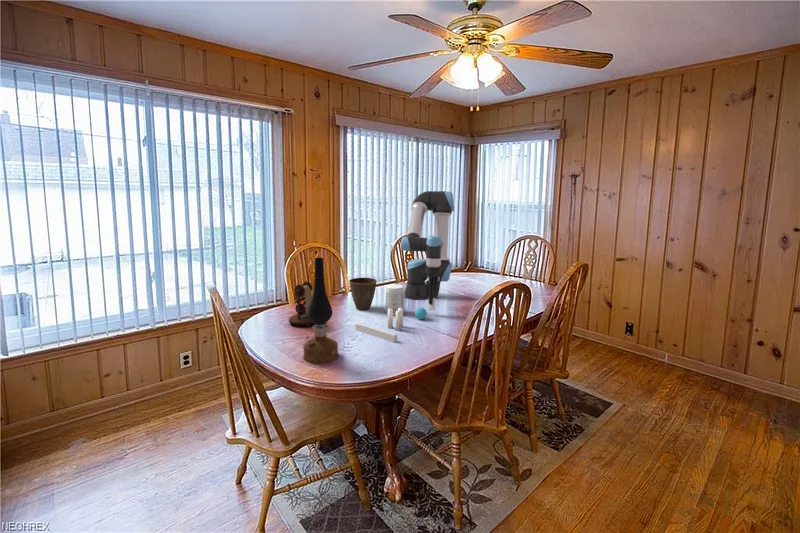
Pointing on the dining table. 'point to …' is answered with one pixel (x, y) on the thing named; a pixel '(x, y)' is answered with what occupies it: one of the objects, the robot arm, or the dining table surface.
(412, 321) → the dining table surface
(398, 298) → the supplement tub
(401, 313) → the front pin
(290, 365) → the dining table surface
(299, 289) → the dark brown upright piece
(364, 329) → the back wall
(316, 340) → the oil lamp
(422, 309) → the ball
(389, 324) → the pin
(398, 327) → the pin
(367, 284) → the plant pot
